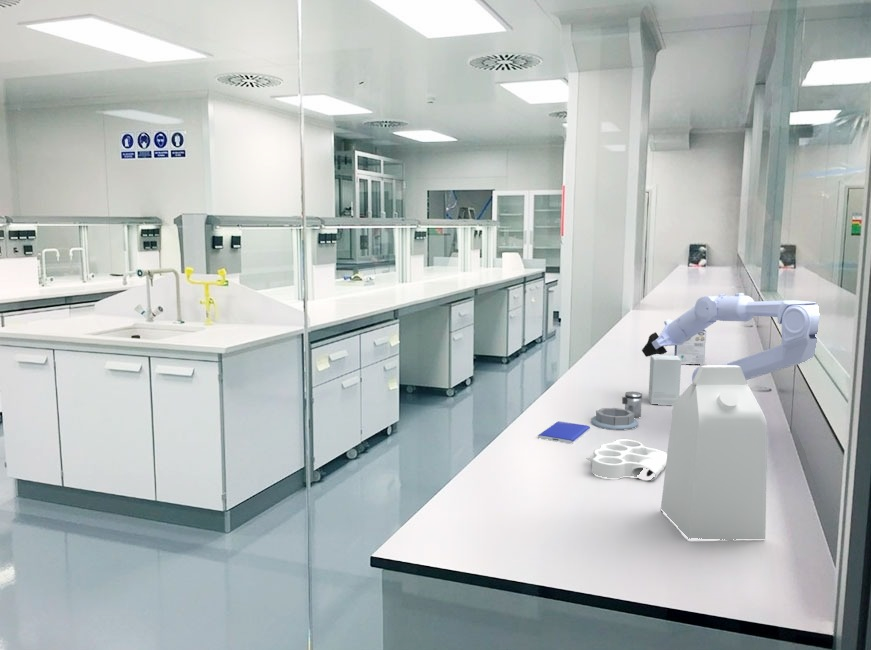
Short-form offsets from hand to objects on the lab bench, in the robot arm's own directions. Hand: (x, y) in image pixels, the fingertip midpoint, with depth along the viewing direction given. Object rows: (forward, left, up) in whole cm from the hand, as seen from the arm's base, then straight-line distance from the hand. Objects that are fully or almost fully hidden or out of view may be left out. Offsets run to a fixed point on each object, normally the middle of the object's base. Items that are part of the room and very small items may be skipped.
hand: (654, 347), depth 181 cm
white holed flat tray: (-42, +24, -17) cm, 51 cm away
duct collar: (-12, +14, -16) cm, 25 cm away
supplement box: (+7, -7, -17) cm, 19 cm away
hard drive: (-19, +29, -17) cm, 39 cm away
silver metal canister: (-6, +7, -16) cm, 19 cm away
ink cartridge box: (+59, -40, -17) cm, 73 cm away
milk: (-70, +20, -17) cm, 75 cm away
